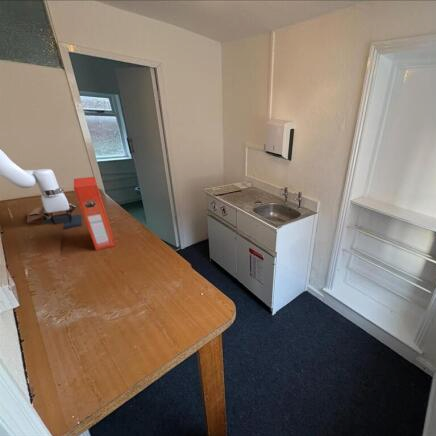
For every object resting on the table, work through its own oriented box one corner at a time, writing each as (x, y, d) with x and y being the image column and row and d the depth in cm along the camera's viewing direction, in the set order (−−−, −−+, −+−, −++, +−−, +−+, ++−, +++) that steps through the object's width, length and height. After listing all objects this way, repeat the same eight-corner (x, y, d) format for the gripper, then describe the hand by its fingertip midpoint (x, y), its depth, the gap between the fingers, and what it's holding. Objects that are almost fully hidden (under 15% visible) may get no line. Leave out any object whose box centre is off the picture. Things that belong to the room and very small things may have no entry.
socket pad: (42, 233, 125) (41, 230, 125) (45, 222, 137) (44, 219, 136) (81, 225, 135) (80, 223, 134) (81, 216, 146) (80, 214, 145)
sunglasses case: (25, 214, 144) (29, 204, 144) (41, 217, 149) (45, 207, 149) (26, 223, 133) (31, 213, 133) (43, 226, 138) (48, 216, 138)
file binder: (95, 250, 112) (73, 187, 100) (93, 236, 124) (73, 178, 111) (115, 245, 117) (97, 184, 104) (112, 232, 129) (95, 176, 116)
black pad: (55, 225, 131) (53, 218, 130) (56, 221, 136) (53, 215, 134) (69, 222, 135) (67, 216, 133) (70, 219, 139) (67, 213, 137)
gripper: (72, 187, 135) (82, 216, 143) (29, 192, 125) (42, 222, 133) (71, 191, 130) (82, 220, 138) (27, 196, 120) (41, 227, 127)
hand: (62, 221), depth 135 cm, fingers closed on black pad, 5 cm apart
